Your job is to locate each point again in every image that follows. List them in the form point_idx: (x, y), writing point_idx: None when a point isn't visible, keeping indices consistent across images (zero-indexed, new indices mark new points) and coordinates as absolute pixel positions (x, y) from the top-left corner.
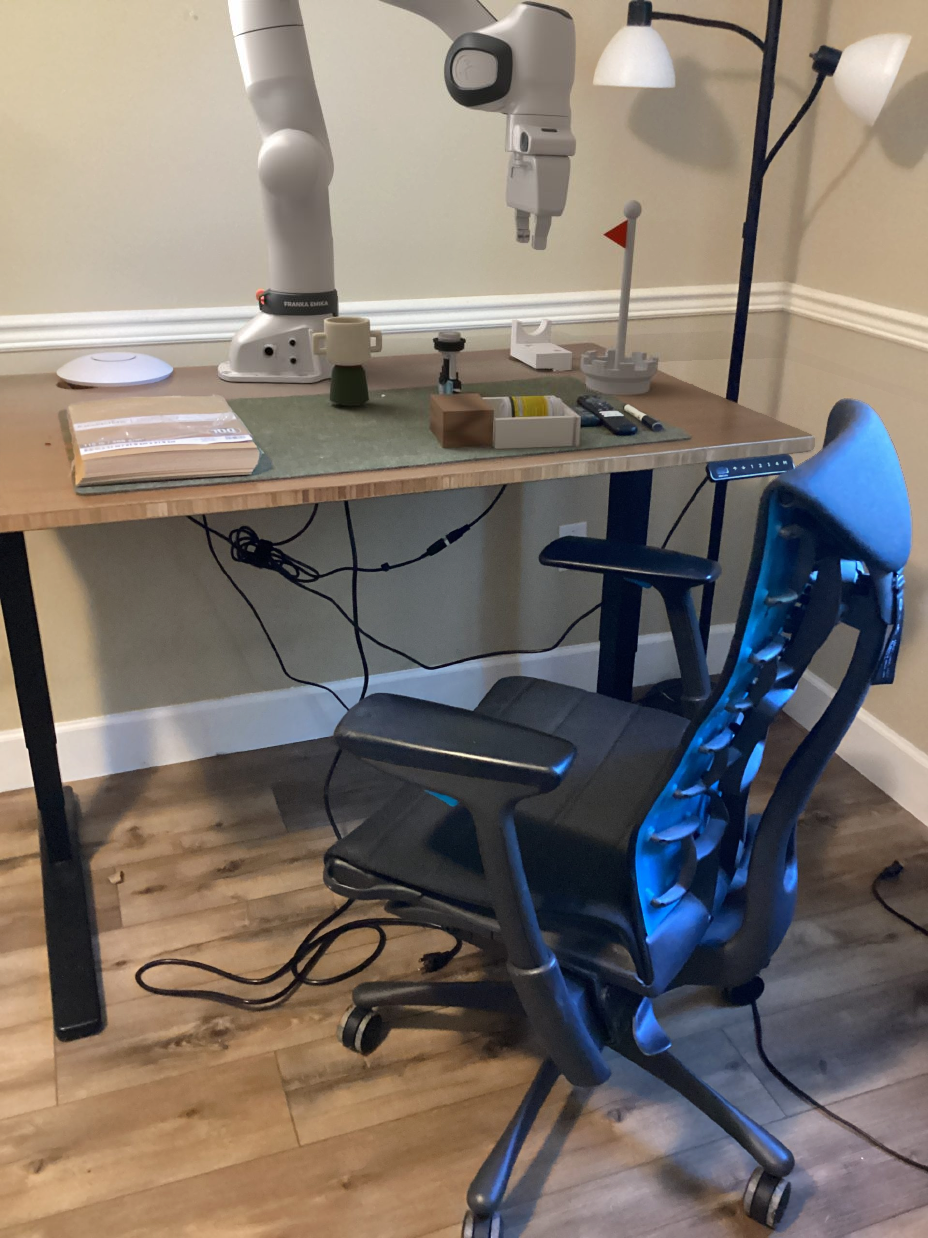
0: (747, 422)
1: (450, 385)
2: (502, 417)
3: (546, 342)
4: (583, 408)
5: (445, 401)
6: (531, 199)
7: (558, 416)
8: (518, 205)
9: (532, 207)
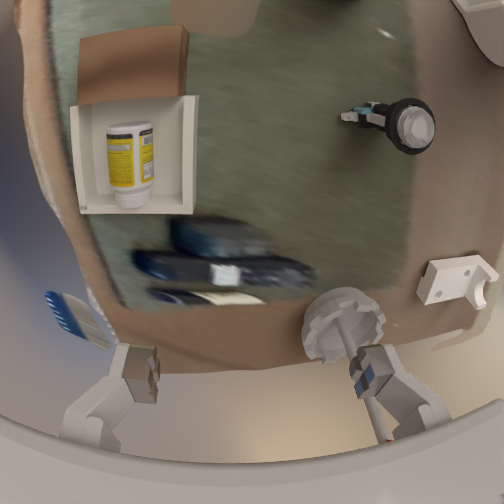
0: (180, 360)
1: (359, 109)
2: (139, 123)
3: (466, 292)
4: (257, 255)
5: (132, 42)
6: (53, 490)
7: (82, 188)
8: (336, 469)
9: (31, 450)
